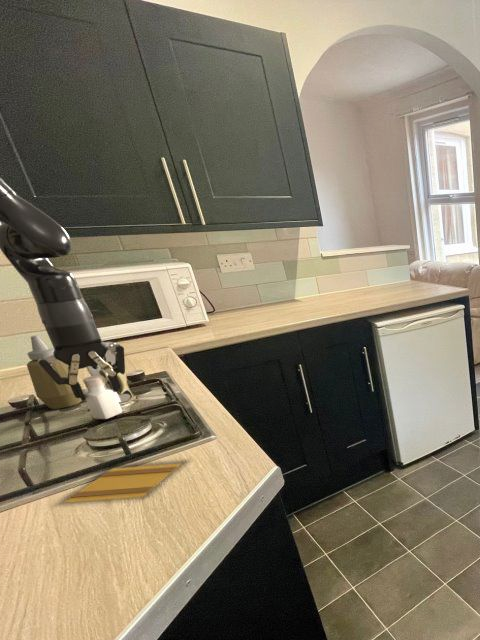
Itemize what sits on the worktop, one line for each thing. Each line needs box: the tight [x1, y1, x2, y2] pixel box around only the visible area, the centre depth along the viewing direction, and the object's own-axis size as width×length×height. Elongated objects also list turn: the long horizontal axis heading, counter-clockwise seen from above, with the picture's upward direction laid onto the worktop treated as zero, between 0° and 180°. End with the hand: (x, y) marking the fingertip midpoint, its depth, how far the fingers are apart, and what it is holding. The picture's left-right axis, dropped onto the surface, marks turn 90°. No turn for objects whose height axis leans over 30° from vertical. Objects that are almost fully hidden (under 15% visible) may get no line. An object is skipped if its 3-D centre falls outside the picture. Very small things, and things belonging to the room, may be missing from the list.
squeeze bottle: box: [26, 335, 83, 410], centre depth 103 cm, size 8×8×18 cm
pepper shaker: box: [82, 375, 123, 420], centre depth 96 cm, size 4×4×10 cm
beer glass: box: [85, 341, 137, 406], centre depth 105 cm, size 7×7×15 cm
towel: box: [64, 463, 181, 504], centre depth 73 cm, size 12×10×1 cm
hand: (99, 394), depth 95 cm, fingers closed on pepper shaker, 5 cm apart
